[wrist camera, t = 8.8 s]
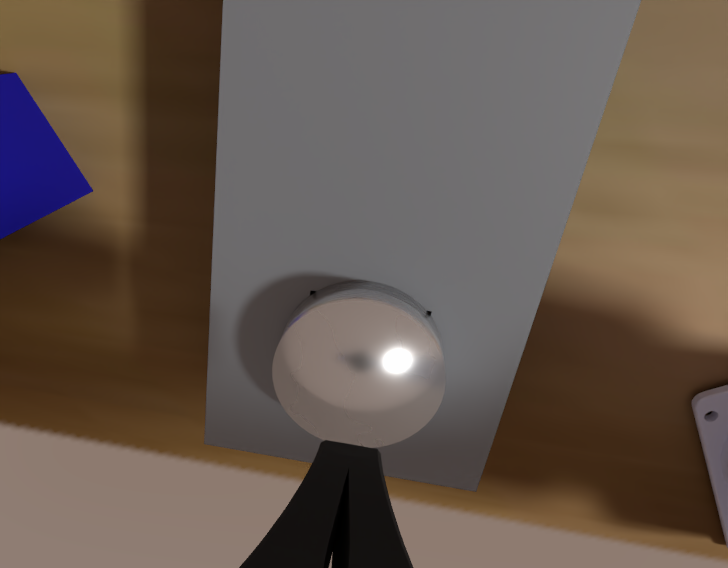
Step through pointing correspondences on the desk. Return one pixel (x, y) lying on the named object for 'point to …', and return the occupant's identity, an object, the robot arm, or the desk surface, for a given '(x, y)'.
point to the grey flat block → (398, 191)
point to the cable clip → (31, 161)
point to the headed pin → (360, 365)
